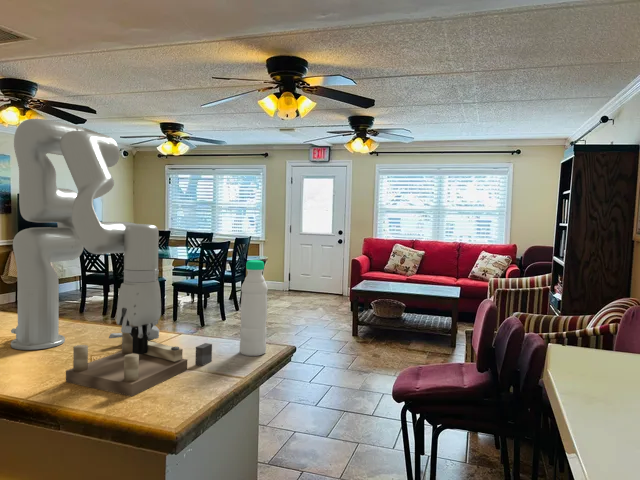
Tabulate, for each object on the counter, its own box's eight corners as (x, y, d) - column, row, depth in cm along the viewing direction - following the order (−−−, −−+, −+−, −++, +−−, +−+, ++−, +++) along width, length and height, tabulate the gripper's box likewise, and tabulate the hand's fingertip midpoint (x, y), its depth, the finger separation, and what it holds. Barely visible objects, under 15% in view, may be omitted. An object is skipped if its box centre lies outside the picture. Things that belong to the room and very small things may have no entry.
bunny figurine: (168, 324, 139) (135, 330, 125) (166, 341, 139) (133, 349, 124) (140, 321, 141) (105, 326, 127) (139, 338, 141) (103, 345, 127)
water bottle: (261, 358, 123) (263, 262, 121) (235, 355, 124) (237, 261, 123) (269, 350, 130) (271, 260, 128) (245, 348, 131) (247, 258, 130)
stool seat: (65, 381, 102) (66, 347, 101) (149, 350, 126) (150, 322, 125) (137, 397, 95) (137, 360, 94) (211, 361, 119) (212, 331, 118)
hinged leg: (182, 358, 111) (182, 347, 111) (174, 361, 109) (174, 349, 109) (147, 350, 117) (147, 338, 117) (139, 352, 115) (139, 341, 115)
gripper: (151, 271, 119) (150, 343, 120) (103, 278, 106) (102, 359, 107) (175, 274, 116) (173, 347, 118) (129, 281, 103) (128, 364, 104)
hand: (140, 352), depth 112 cm, fingers closed
